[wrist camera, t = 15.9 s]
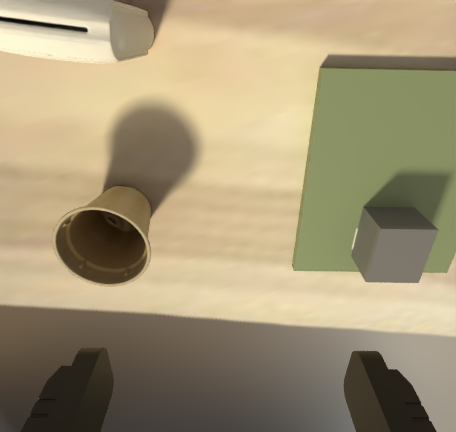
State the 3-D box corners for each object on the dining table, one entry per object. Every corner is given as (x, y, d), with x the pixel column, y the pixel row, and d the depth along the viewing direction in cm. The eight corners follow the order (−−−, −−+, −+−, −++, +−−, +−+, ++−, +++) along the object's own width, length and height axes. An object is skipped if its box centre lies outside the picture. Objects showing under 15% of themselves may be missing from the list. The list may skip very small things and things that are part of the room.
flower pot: (149, 252, 43) (133, 298, 35) (77, 224, 41) (43, 268, 33) (176, 192, 39) (164, 230, 31) (97, 159, 37) (63, 191, 29)
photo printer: (45, 46, 31) (-51, 51, 20) (38, -9, 29) (-73, -34, 18) (154, 60, 32) (117, 72, 21) (155, 8, 30) (114, -8, 19)
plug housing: (363, 206, 38) (380, 228, 34) (414, 207, 38) (438, 229, 34) (351, 256, 42) (365, 282, 37) (398, 256, 42) (418, 282, 37)
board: (319, 67, 32) (322, 68, 31) (522, 71, 32) (531, 72, 31) (292, 265, 44) (293, 270, 43) (441, 267, 44) (447, 272, 43)
